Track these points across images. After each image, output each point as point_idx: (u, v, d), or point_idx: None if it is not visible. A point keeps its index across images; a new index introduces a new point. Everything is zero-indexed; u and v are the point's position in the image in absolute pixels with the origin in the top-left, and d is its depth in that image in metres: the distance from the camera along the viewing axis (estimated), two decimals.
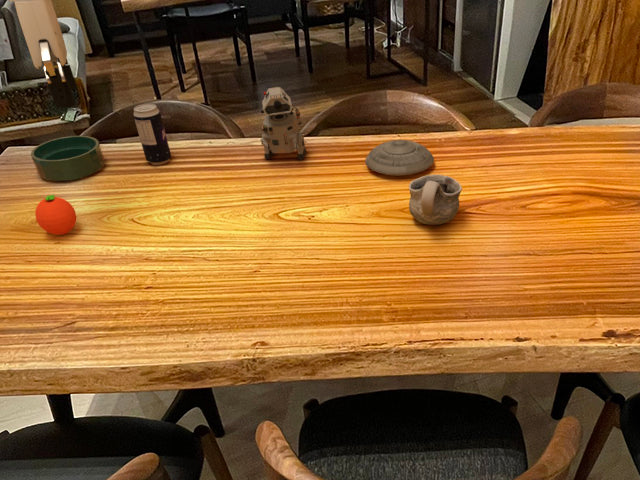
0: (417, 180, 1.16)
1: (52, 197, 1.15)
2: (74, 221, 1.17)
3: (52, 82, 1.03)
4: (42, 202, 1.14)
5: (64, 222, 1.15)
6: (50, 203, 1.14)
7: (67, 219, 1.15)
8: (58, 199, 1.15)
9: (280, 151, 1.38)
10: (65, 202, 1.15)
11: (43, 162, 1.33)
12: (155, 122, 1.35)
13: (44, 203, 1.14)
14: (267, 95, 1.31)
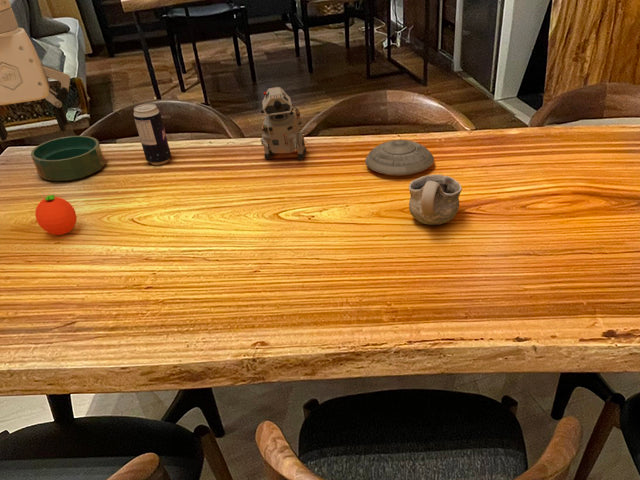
0: (417, 180, 1.16)
1: (52, 197, 1.15)
2: (74, 221, 1.17)
3: (62, 103, 1.06)
4: (42, 202, 1.14)
5: (64, 222, 1.15)
6: (50, 203, 1.14)
7: (67, 219, 1.15)
8: (58, 199, 1.15)
9: (280, 151, 1.38)
10: (65, 202, 1.15)
11: (43, 162, 1.33)
12: (155, 122, 1.35)
13: (44, 203, 1.14)
14: (267, 95, 1.31)
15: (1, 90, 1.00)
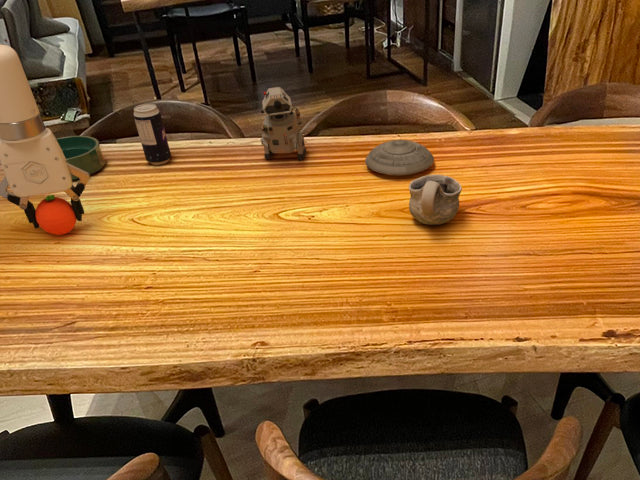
0: (417, 180, 1.16)
1: (52, 197, 1.15)
2: (74, 221, 1.17)
3: None
4: (42, 202, 1.14)
5: (64, 222, 1.15)
6: (50, 203, 1.14)
7: (67, 219, 1.15)
8: (58, 199, 1.15)
9: (280, 151, 1.38)
10: (65, 202, 1.15)
11: None
12: (155, 122, 1.35)
13: (44, 203, 1.14)
14: (267, 95, 1.31)
15: (29, 185, 1.10)
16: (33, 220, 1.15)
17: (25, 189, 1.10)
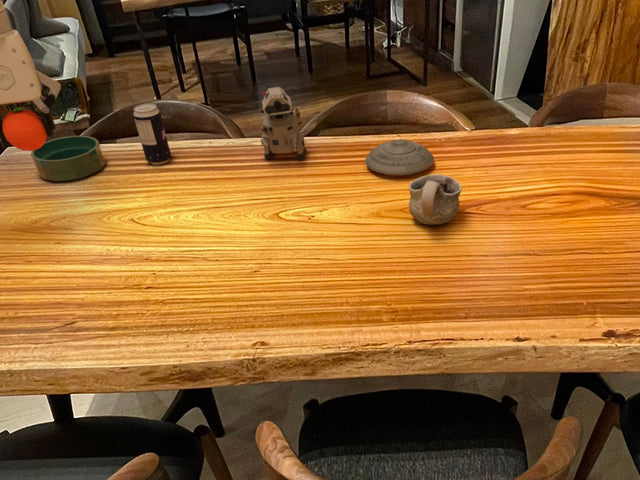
0: (417, 180, 1.16)
1: (20, 109, 1.08)
2: (44, 137, 1.10)
3: (49, 109, 1.08)
4: (9, 113, 1.07)
5: (33, 136, 1.08)
6: (18, 114, 1.06)
7: (36, 133, 1.08)
8: (27, 111, 1.08)
9: (280, 151, 1.38)
10: (34, 115, 1.08)
11: (43, 162, 1.33)
12: (155, 122, 1.35)
13: (11, 114, 1.06)
14: (267, 95, 1.31)
15: None
16: (0, 133, 1.08)
17: None
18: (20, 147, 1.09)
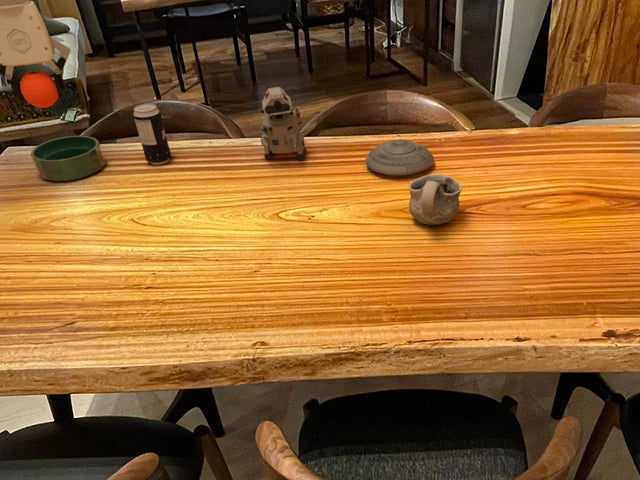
0: (417, 180, 1.16)
1: (36, 70, 1.24)
2: (56, 95, 1.27)
3: (60, 71, 1.25)
4: (26, 74, 1.23)
5: (46, 93, 1.24)
6: (34, 74, 1.23)
7: (49, 91, 1.25)
8: (41, 72, 1.24)
9: (280, 151, 1.38)
10: (48, 75, 1.25)
11: (43, 162, 1.33)
12: (155, 122, 1.35)
13: (28, 74, 1.23)
14: (267, 95, 1.31)
15: (13, 53, 1.19)
16: (18, 91, 1.24)
17: (10, 57, 1.19)
18: (35, 104, 1.25)
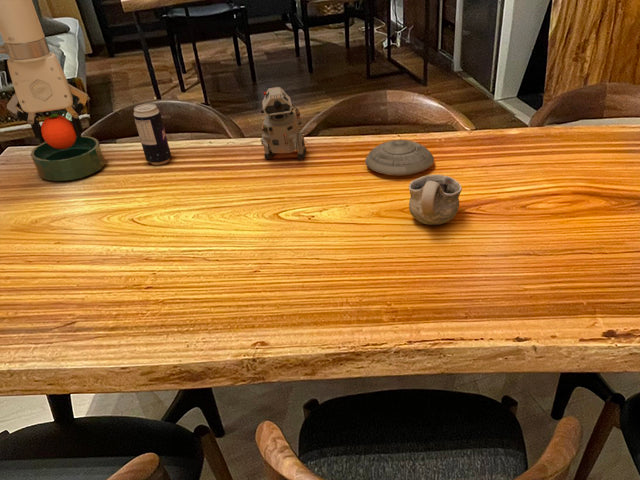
0: (417, 180, 1.16)
1: (55, 115, 1.33)
2: (74, 137, 1.35)
3: (78, 115, 1.34)
4: (47, 119, 1.32)
5: (66, 137, 1.33)
6: (54, 119, 1.32)
7: (68, 134, 1.33)
8: (61, 117, 1.33)
9: (280, 151, 1.38)
10: (67, 120, 1.34)
11: (43, 162, 1.33)
12: (155, 122, 1.35)
13: (49, 119, 1.32)
14: (267, 95, 1.31)
15: (35, 101, 1.28)
16: (39, 135, 1.33)
17: (32, 105, 1.28)
18: (55, 146, 1.34)
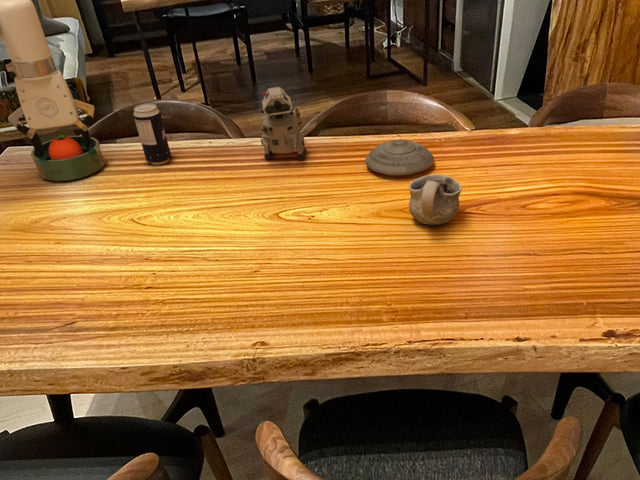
0: (417, 180, 1.16)
1: (63, 136, 1.36)
2: None
3: (87, 127, 1.36)
4: (54, 140, 1.35)
5: None
6: (61, 141, 1.35)
7: (75, 155, 1.36)
8: (68, 138, 1.36)
9: (280, 151, 1.38)
10: (74, 141, 1.37)
11: (43, 162, 1.33)
12: (155, 122, 1.35)
13: (56, 141, 1.35)
14: (267, 95, 1.31)
15: (42, 118, 1.30)
16: (38, 148, 1.34)
17: (38, 122, 1.30)
18: None
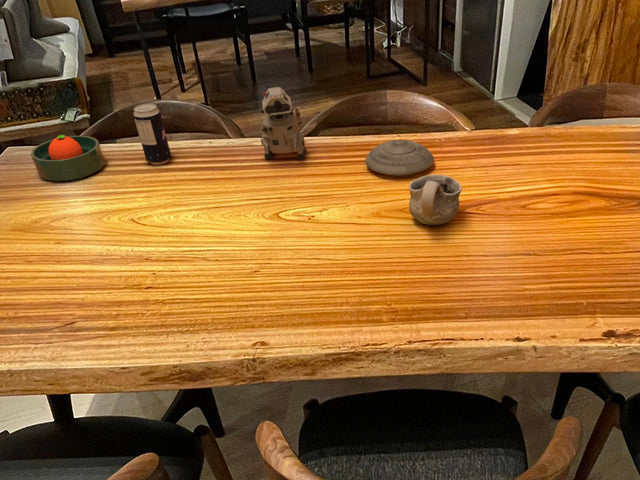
0: (417, 180, 1.16)
1: (63, 136, 1.36)
2: None
3: None
4: (54, 140, 1.35)
5: None
6: (61, 141, 1.35)
7: (75, 155, 1.36)
8: (68, 138, 1.36)
9: (280, 151, 1.38)
10: (74, 141, 1.37)
11: (43, 162, 1.33)
12: (155, 122, 1.35)
13: (56, 141, 1.35)
14: (267, 95, 1.31)
15: None
16: None
17: None
18: None
